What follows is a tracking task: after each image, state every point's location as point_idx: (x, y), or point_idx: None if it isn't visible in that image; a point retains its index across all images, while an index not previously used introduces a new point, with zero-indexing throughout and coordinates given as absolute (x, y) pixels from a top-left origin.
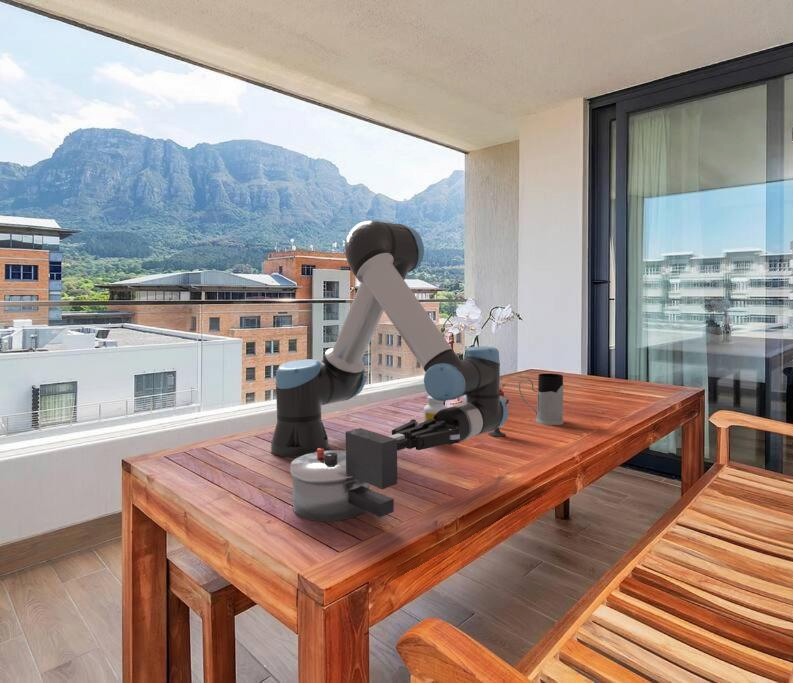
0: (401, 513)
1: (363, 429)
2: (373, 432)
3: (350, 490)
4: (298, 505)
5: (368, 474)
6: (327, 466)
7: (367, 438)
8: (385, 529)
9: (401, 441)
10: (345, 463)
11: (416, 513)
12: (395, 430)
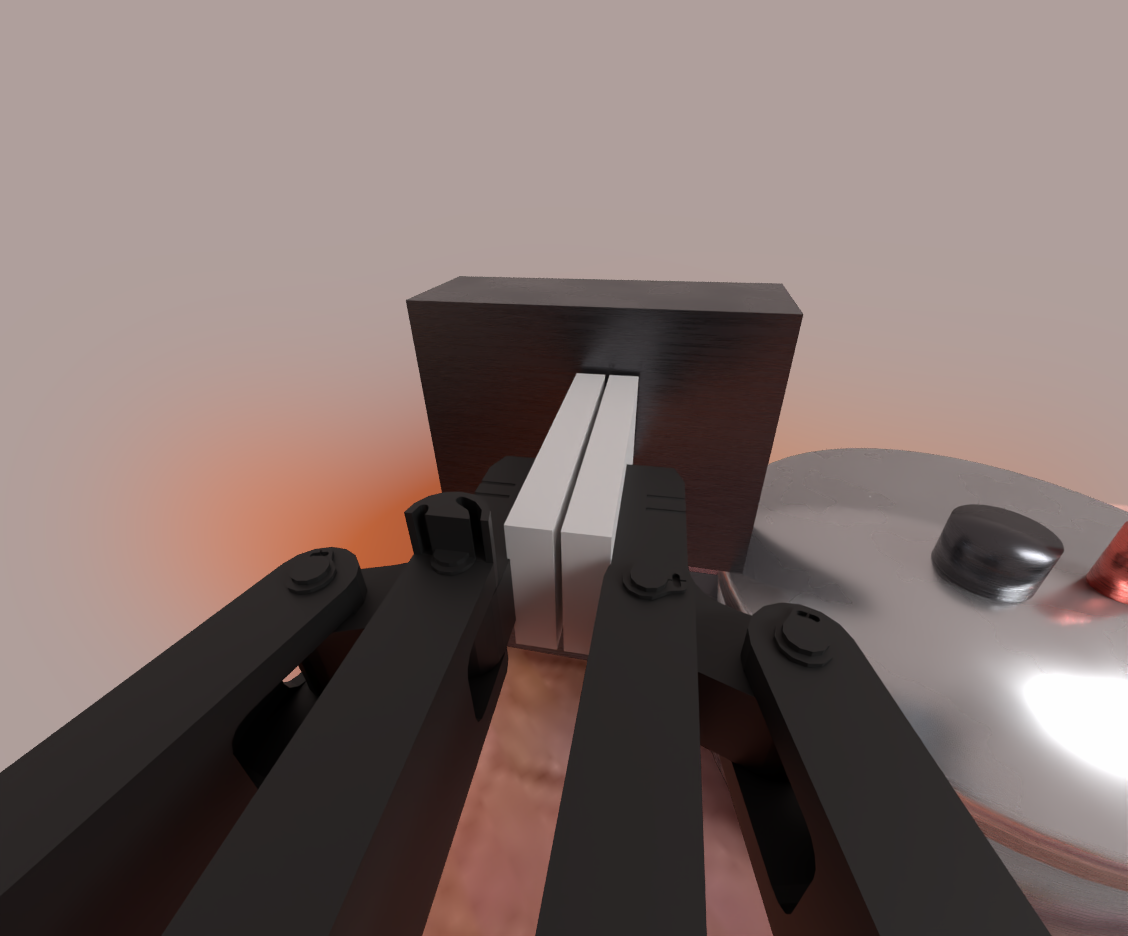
0: (545, 847)
1: (749, 310)
2: (627, 305)
3: (711, 577)
4: None
5: None
6: (911, 528)
7: (572, 279)
8: (526, 666)
9: (488, 487)
10: (916, 600)
11: (467, 907)
12: (775, 630)
